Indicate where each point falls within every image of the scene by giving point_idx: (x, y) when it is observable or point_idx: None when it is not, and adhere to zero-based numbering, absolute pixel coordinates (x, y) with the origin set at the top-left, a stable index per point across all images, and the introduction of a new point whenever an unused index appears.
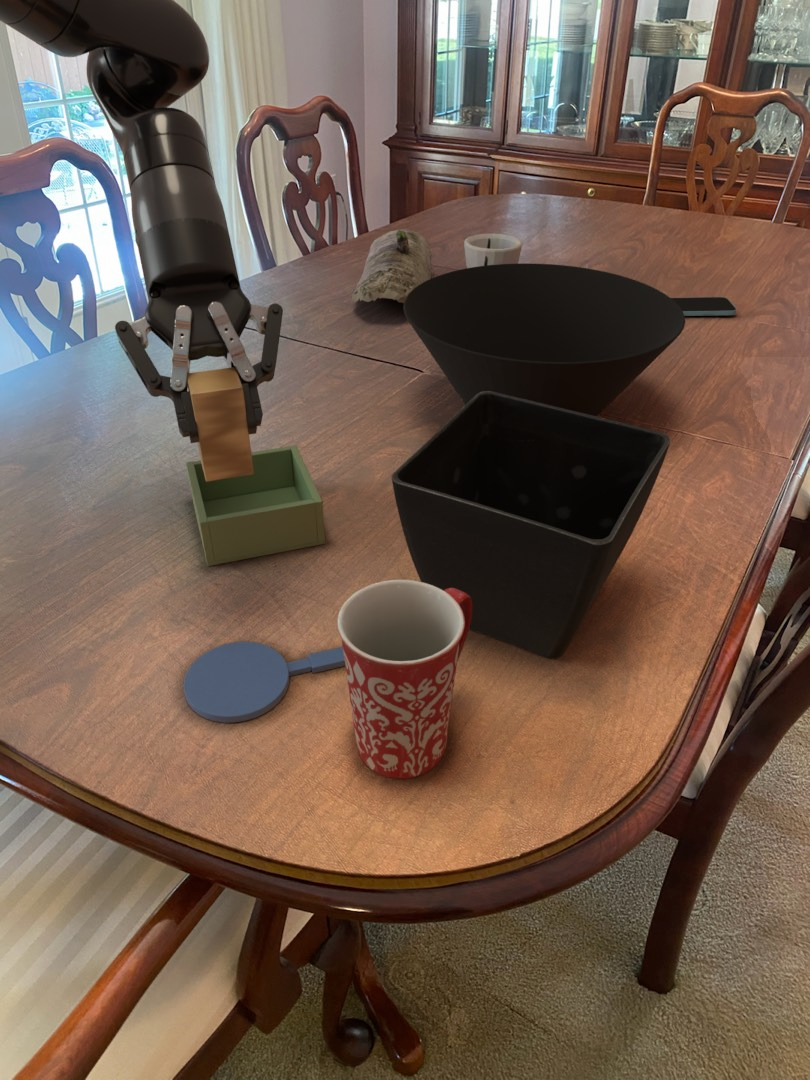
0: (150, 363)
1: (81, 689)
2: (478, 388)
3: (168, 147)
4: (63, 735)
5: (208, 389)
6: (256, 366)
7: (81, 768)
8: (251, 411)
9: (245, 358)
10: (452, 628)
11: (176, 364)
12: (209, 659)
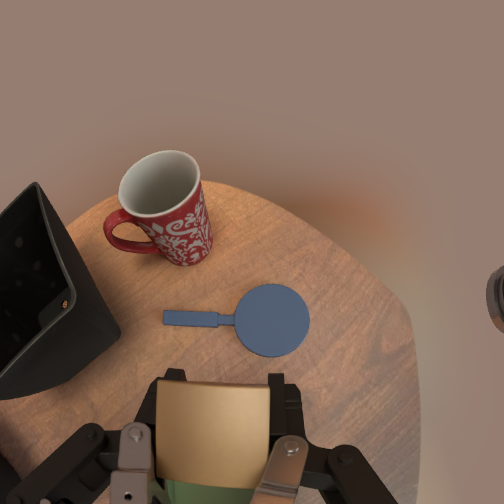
0: (350, 488)
1: (375, 344)
2: (8, 491)
3: None
4: (381, 306)
5: (228, 396)
6: (114, 449)
7: (369, 278)
8: None
9: (123, 460)
10: (131, 187)
11: (287, 487)
12: (288, 343)
